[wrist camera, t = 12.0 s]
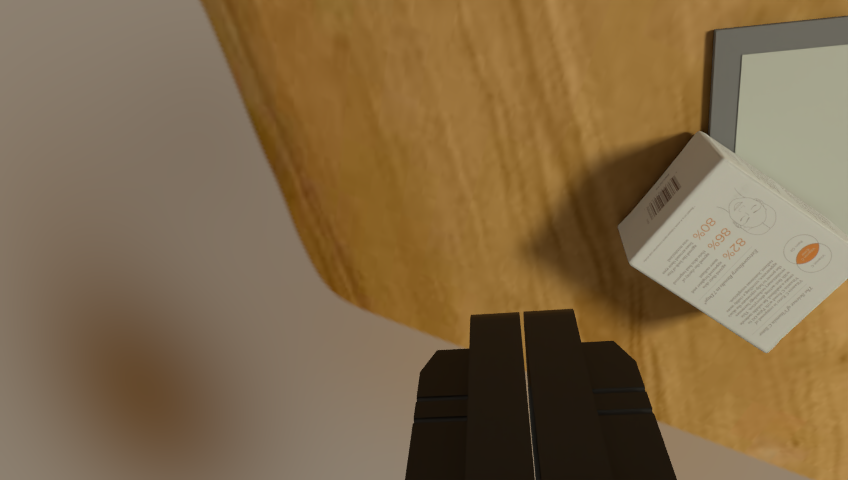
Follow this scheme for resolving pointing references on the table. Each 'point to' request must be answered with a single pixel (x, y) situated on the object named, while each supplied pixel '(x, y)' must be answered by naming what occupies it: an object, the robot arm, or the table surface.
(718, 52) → the e-reader
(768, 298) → the small box
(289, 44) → the table surface
